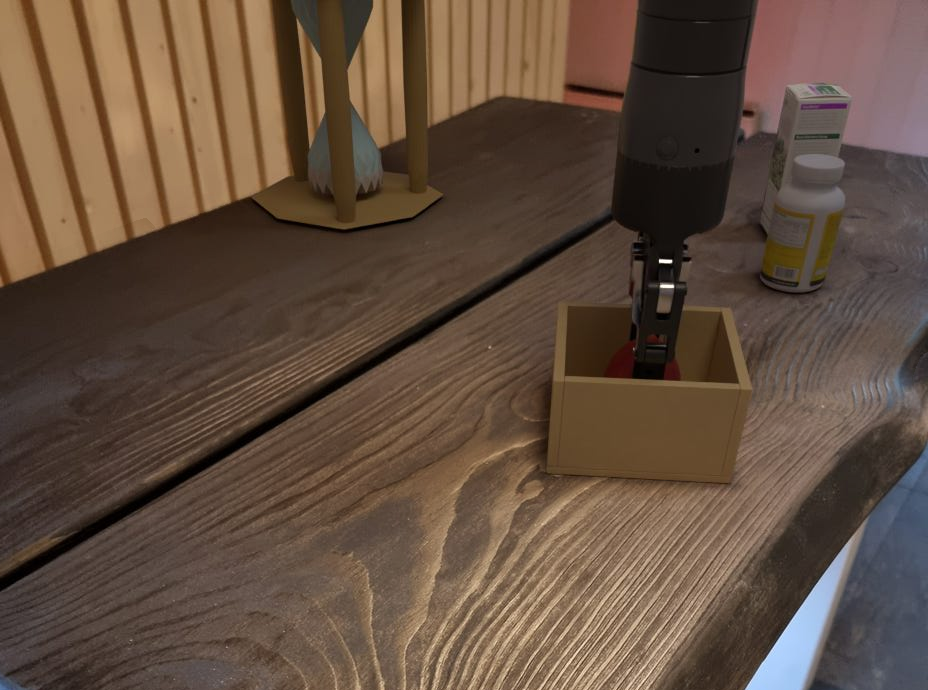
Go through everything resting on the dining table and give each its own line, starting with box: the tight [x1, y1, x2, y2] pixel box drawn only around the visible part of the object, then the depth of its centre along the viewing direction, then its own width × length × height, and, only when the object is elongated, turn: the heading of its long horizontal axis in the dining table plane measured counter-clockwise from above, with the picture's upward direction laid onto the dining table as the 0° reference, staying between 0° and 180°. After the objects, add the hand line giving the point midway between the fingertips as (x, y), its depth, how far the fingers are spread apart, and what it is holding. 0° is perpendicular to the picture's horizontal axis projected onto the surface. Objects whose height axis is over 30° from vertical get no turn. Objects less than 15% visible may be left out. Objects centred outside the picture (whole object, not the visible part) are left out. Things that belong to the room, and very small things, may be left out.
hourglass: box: [250, 0, 445, 230], centre depth 108 cm, size 24×22×25 cm
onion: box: [603, 334, 681, 381], centre depth 71 cm, size 6×6×8 cm
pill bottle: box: [759, 154, 846, 293], centre depth 92 cm, size 6×6×12 cm
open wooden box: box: [545, 301, 753, 484], centre depth 71 cm, size 14×14×8 cm
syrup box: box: [758, 82, 853, 237], centre depth 101 cm, size 6×6×14 cm
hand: (642, 383), depth 71 cm, fingers closed on onion, 6 cm apart
